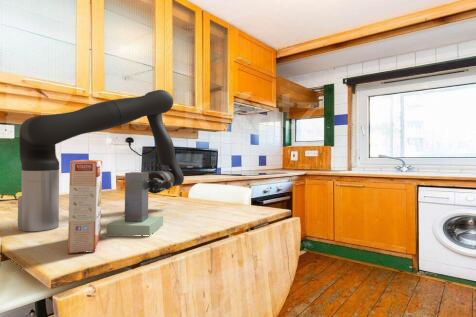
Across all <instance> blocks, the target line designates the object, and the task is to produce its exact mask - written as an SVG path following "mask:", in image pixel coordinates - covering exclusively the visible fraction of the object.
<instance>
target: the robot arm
mask: <svg viewBox="0 0 476 317" xmlns="http://www.w3.org/2000/svg"><path fill="white" fill-rule="evenodd" d="M173 106H174V98H173V96H172V94H171V93H170V92H168V91H167V90H164V89H156V90H152V91H149V92H146V93H145V94H143V95H141V96H135V97H133V96H132V97H124V98H123V97H122V98H117V99H110V100H106V101H104V100H103V101H101V102H96V103H93V104H90V105H87V106H84V107H83V108H80V109H77V110H73V111H69V112H62V113H54V114H41V115H36V116H32V117H29V118H27V119H26V120H24V121H23V122H22V123H21V125H20V128H19V138H18V142H19V160H20V164H21V195H19V196H18V197H17V230H19V231H22V232H40V231H41V232H43V231H48V230H53V229H56V228H58V227H59V225H60V220H59V216H60V161H59V159H58V157H57V153H56V145H58V144H59V143H62V142H64V141H67V140H70V139H72V138H75V137H78V136H80V135H83V134H89V133H95V132H102V131H105V130H109V129H113V128H116V127H120V126H123V125H126V124H128V123H131V122H133V121H136V120H138V119H141V118H143V117H146V118H147V122H148V124H149V128H150V130H151V134H152V136H153V140H154V143H155V148H156V155H157V159H158V163H159V164H160V165H161V166H167V167H170V168H171V169H166V170H157V171H153V172H149V181H148V193H151V194H153V195H154V194H159V193H161V192H164V191H166V190H168V191H169V190H170V189H172V188H173V187H178V186H181V185H183V183H184V181H185V177H184V173H183V171H182V169H181V167H180V165H179V163H178V160H177V156H176V151H175V146H174V142H173V139H172V138H171V136H170V134H169V132H168V131H167V128H166V127H165V124H164V122H163V115H162V114H166V113H168V112H169V111H171V109H172V107H173Z"/></svg>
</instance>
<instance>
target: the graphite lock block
mask: <svg viewBox="0 0 476 317" xmlns="http://www.w3.org/2000/svg"><path fill="white" fill-rule="evenodd" d="M149 173H150V172H147V171H145V172H144V171H131V172H125V173H124V174H125V175H124V176H125V177H124V216H125V222H143V221H145V220H146V219H148V216H149V192H148V181H149Z"/></svg>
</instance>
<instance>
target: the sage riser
mask: <svg viewBox="0 0 476 317" xmlns="http://www.w3.org/2000/svg"><path fill="white" fill-rule="evenodd" d="M163 220H164V218H163V216H160V215H159V216H157V215H156V216H155V215H148V219H146V220H145V221H143V222H125V215H123V216H121V217H119V218H117V219H115V220H114V221H110V222H109V223H107V224H106V232H105V233H106V235H141V236H140V237H142V236H143V235H149V236H150V235H151V234H152V233H154V232H155V231H156V230H157V231H159V230H160V229H161V228H162V227H163V226H164V221H163ZM161 226H162V227H161ZM160 227H161V228H160ZM159 228H160V229H159ZM157 231H156V232H157ZM156 232H155V233H156ZM155 233H154V234H155ZM106 235H105V236H106ZM152 235H153V234H152ZM152 235H151V236H152ZM151 236H150V237H151Z"/></svg>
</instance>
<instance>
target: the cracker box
mask: <svg viewBox="0 0 476 317" xmlns="http://www.w3.org/2000/svg"><path fill="white" fill-rule="evenodd" d="M102 179H103V160H101V159H100V160H99V159H77V160H76V159H75V160H70V162H69V188H68V189H69V190H68V191H69V192H68V196H69V197H68V200H69V201H68V225H67V226H68V230H67V232H68V233H67V237H68V238H67V254H68V255H69V253H71V254H79V253H78V252H84V253H87V252H86V251H94V252H96V250H95V249H97V247H98V244H99V240H100V238H101V223H102V222H101V219H102V218H101V217H102V214H101V213H102V184H103V183H102V182H103V180H102ZM96 246H97V247H96Z"/></svg>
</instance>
